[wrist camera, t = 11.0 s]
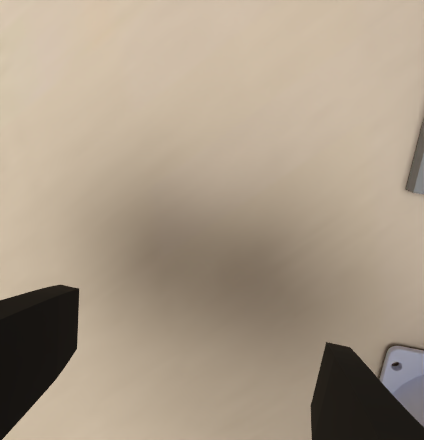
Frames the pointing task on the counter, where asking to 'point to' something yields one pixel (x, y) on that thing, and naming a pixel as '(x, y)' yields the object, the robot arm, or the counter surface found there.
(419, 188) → the stand
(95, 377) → the counter surface
